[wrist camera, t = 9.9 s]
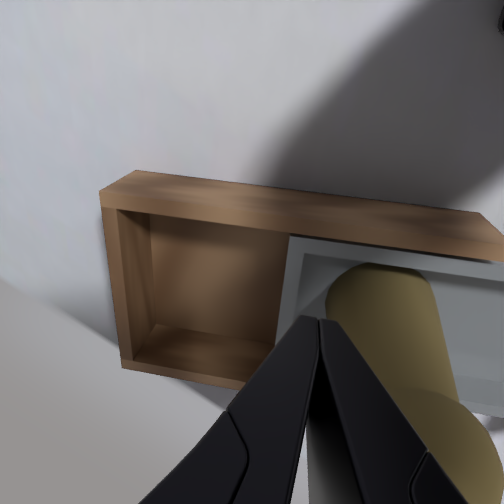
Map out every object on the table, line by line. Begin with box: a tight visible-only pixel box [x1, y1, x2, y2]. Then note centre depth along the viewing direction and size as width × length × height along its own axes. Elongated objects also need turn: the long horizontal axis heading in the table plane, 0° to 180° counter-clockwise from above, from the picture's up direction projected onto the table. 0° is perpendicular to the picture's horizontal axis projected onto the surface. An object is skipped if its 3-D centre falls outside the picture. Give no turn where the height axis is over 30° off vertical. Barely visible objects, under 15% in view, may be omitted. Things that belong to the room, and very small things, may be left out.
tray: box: [275, 233, 504, 418], centre depth 19 cm, size 19×12×4 cm, turn 86°
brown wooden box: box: [99, 170, 504, 390], centre depth 21 cm, size 19×12×4 cm, turn 85°
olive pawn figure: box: [325, 262, 504, 504], centre depth 16 cm, size 6×6×11 cm
